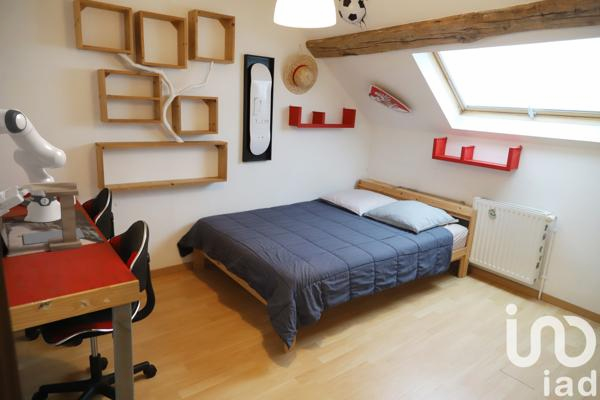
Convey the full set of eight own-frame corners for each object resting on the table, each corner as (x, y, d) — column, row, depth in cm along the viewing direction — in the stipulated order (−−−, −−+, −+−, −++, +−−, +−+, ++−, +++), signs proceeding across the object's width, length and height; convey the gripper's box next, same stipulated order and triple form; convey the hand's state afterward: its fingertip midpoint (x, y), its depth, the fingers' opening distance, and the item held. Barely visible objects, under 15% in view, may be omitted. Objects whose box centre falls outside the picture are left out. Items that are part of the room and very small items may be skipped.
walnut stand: (48, 243, 187) (43, 187, 181) (77, 239, 194) (74, 185, 188) (50, 251, 178) (46, 192, 172) (81, 247, 185) (78, 190, 179)
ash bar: (22, 190, 173) (21, 183, 173) (75, 187, 185) (75, 181, 184) (22, 192, 171) (22, 185, 170) (76, 188, 182) (76, 182, 182)
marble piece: (35, 209, 239) (34, 202, 238) (14, 207, 242) (13, 200, 241) (57, 203, 254) (57, 197, 253) (38, 201, 257) (37, 194, 257)
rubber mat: (23, 235, 195) (22, 234, 195) (79, 228, 209) (79, 227, 209) (24, 245, 183) (24, 244, 183) (84, 237, 197) (84, 237, 196)
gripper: (-8, 204, 158) (27, 184, 164) (-8, 193, 175) (25, 176, 180) (3, 217, 161) (38, 197, 167) (3, 205, 178) (34, 187, 183)
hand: (31, 186), depth 173 cm, fingers closed on ash bar, 3 cm apart
